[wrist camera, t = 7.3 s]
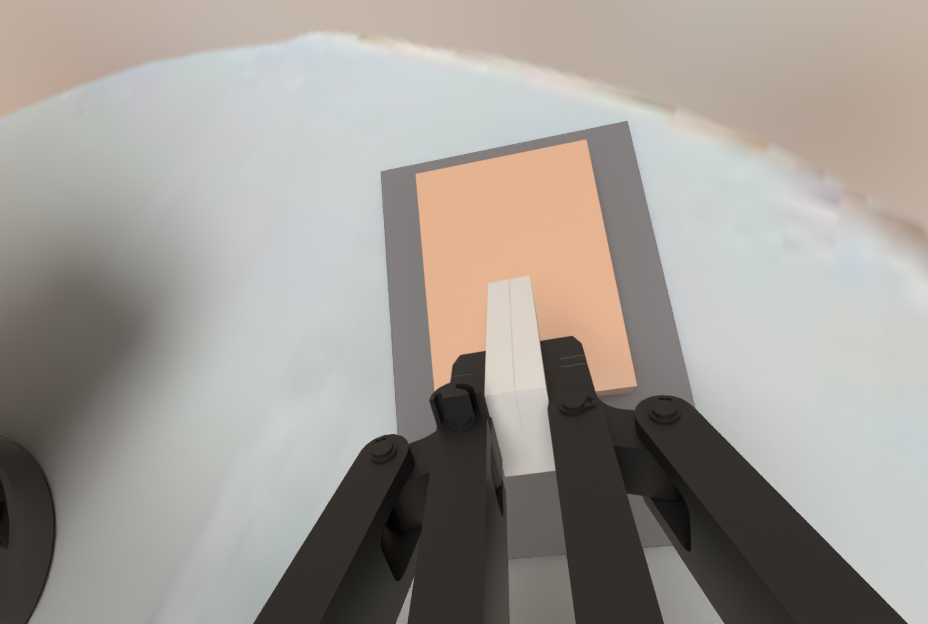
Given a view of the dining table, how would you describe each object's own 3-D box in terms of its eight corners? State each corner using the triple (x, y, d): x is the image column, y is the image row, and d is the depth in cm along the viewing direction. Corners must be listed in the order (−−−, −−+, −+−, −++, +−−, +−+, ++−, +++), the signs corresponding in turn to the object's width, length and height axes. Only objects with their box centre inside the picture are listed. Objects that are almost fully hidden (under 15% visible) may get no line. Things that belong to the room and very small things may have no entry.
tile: (637, 386, 25) (586, 139, 29) (436, 411, 26) (415, 173, 31) (630, 393, 27) (585, 165, 32) (447, 416, 29) (427, 196, 33)
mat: (724, 539, 25) (726, 540, 25) (408, 566, 28) (406, 567, 27) (626, 125, 32) (627, 120, 32) (382, 174, 35) (380, 171, 34)
